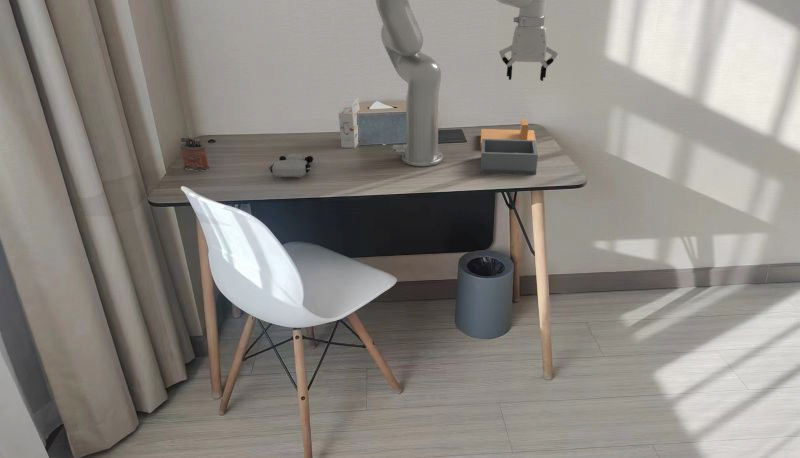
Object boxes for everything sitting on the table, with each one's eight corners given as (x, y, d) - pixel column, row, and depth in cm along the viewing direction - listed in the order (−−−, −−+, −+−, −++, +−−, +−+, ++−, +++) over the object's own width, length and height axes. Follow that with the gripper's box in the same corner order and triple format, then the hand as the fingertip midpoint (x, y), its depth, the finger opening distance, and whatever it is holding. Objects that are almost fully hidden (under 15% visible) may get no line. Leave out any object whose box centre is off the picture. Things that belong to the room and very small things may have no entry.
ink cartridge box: (347, 138, 205) (344, 96, 198) (361, 139, 205) (359, 96, 198) (340, 147, 198) (337, 103, 191) (355, 148, 197) (352, 104, 190)
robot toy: (278, 165, 188) (267, 182, 175) (277, 151, 187) (265, 167, 173) (318, 165, 188) (309, 181, 174) (316, 151, 186) (307, 166, 172)
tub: (480, 172, 178) (481, 153, 175) (481, 157, 188) (481, 138, 185) (536, 174, 176) (537, 154, 173) (533, 158, 186) (535, 140, 183)
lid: (480, 149, 193) (481, 127, 190) (481, 135, 205) (482, 114, 202) (535, 151, 191) (537, 129, 188) (533, 136, 203) (535, 115, 199)
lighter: (211, 167, 186) (205, 136, 181) (205, 172, 183) (199, 140, 178) (188, 165, 188) (182, 134, 183) (182, 169, 185) (175, 138, 180)
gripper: (501, 23, 177) (497, 81, 185) (562, 24, 175) (555, 83, 183) (501, 19, 184) (497, 75, 192) (559, 20, 182) (553, 77, 190)
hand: (525, 79), depth 187 cm, fingers open, 9 cm apart
